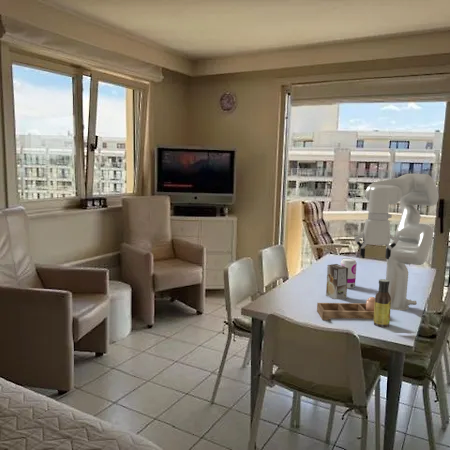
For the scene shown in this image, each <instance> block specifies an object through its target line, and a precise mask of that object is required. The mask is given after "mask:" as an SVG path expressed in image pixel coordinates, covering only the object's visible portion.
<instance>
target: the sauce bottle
mask: <svg viewBox="0 0 450 450" xmlns="http://www.w3.org/2000/svg"><path fill="white" fill-rule="evenodd" d="M388 288H389V280H386V278H385V279H382V278H380V279H378V291H377V292H376V293H375V307H374V319H373V324H374V326H376V327H378V328H388V327H389V326H390V323H391V322H390V320H391V310H392V309H391V296H390V294H389V292H388V291H389V290H388Z"/></svg>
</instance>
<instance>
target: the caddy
mask: <svg viewBox="0 0 450 450" xmlns="http://www.w3.org/2000/svg"><path fill="white" fill-rule="evenodd" d="M316 312H317V313H318V315H319V318H321V320H322V321H331V319H359V320H361V319H362V320H363V319H364V320H367V319H369V320H370V319H371V320H374V311H366V302H365V303H364V302H361V303H360V302H359V303H358V302H357V303H355V302H354V303H353V302H317V304H316Z"/></svg>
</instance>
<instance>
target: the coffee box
mask: <svg viewBox="0 0 450 450" xmlns="http://www.w3.org/2000/svg"><path fill="white" fill-rule="evenodd" d="M326 269H327V270H326V291H325V296H327V297H329V298H331V299H332V300H347V294H348V292H347V291H348V288H347V279H348V268H347V267H344V266H341V264H338V263H334V264H333V263H332V264H328V265H327V268H326Z"/></svg>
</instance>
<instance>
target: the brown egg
mask: <svg viewBox="0 0 450 450" xmlns="http://www.w3.org/2000/svg"><path fill="white" fill-rule="evenodd" d="M365 301H366V302H365V303H366V311H374V307H375V297H373V296H370V297H369V298H367V299H366V300H365Z"/></svg>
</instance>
